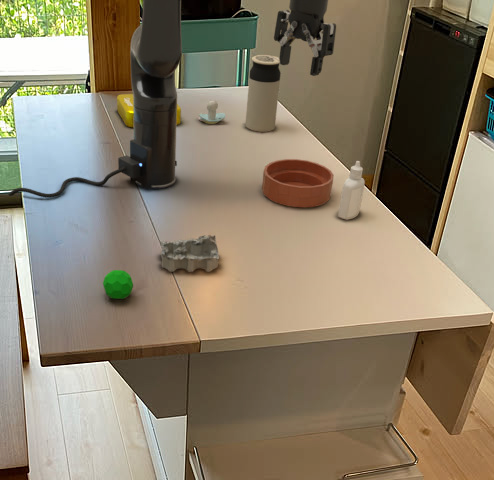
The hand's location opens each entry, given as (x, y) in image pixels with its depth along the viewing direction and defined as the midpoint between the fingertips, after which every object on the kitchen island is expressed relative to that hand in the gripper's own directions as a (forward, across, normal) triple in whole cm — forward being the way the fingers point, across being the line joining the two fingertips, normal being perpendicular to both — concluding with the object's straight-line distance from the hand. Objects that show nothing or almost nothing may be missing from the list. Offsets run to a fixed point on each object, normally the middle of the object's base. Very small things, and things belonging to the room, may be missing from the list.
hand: (299, 69), depth 149 cm
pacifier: (+26, -39, +13) cm, 49 cm away
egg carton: (+26, +15, -41) cm, 51 cm away
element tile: (+26, -51, +1) cm, 57 cm away
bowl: (+25, +6, -2) cm, 26 cm away
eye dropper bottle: (+25, +20, -1) cm, 32 cm away
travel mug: (+25, -28, +21) cm, 44 cm away
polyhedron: (+26, +16, -58) cm, 66 cm away
